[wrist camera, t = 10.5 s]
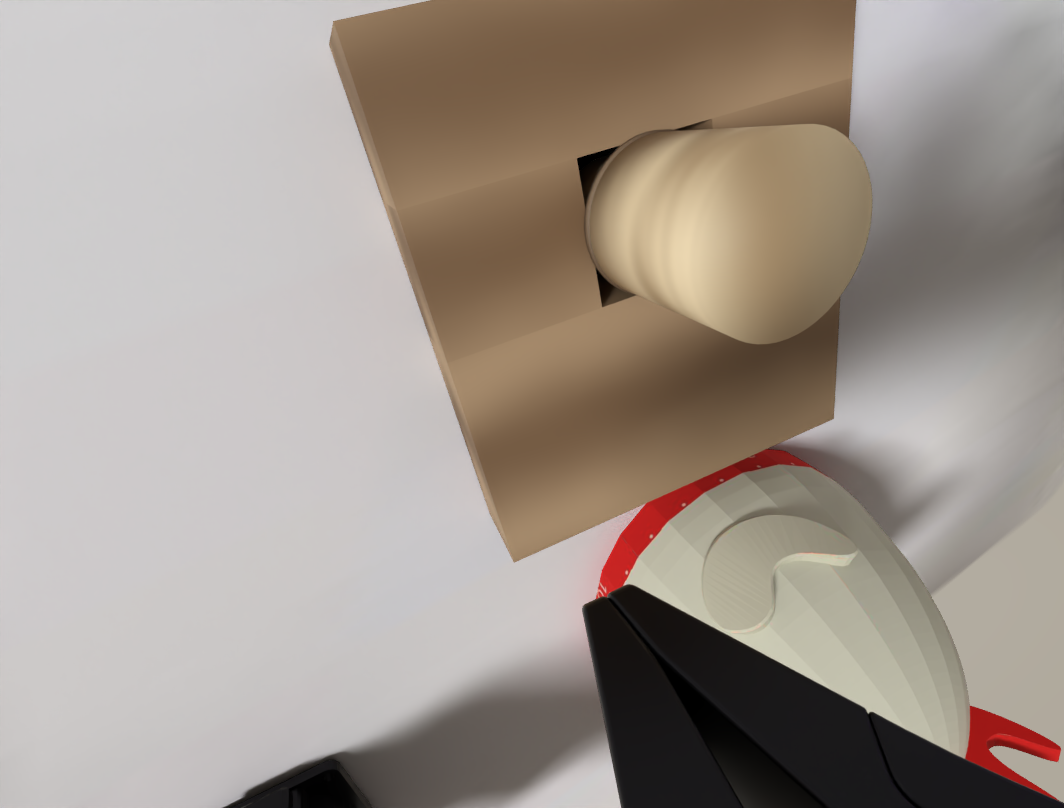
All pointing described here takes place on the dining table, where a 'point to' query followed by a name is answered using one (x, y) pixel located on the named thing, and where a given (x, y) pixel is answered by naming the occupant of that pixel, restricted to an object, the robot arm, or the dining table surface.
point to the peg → (731, 224)
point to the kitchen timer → (813, 597)
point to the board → (582, 234)
